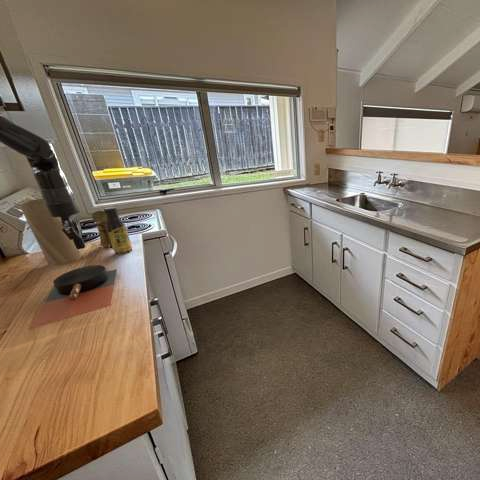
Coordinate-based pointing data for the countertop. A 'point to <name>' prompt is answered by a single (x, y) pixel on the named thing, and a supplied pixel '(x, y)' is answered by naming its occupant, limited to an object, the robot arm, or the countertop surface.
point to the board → (75, 303)
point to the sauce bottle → (117, 232)
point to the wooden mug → (102, 228)
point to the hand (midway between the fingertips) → (81, 248)
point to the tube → (49, 233)
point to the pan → (80, 280)
